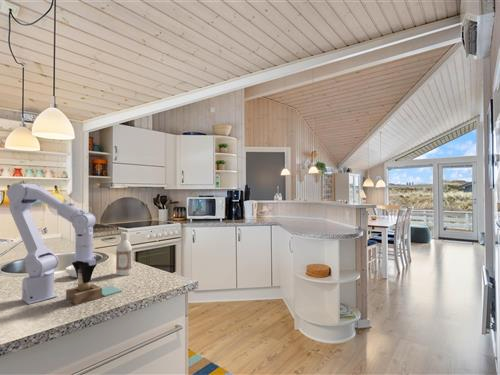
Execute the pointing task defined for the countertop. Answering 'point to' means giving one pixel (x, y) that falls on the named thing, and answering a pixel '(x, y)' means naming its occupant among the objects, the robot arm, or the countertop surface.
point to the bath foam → (124, 256)
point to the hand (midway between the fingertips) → (84, 281)
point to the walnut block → (83, 294)
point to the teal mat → (110, 291)
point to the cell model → (71, 271)
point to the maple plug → (82, 285)
